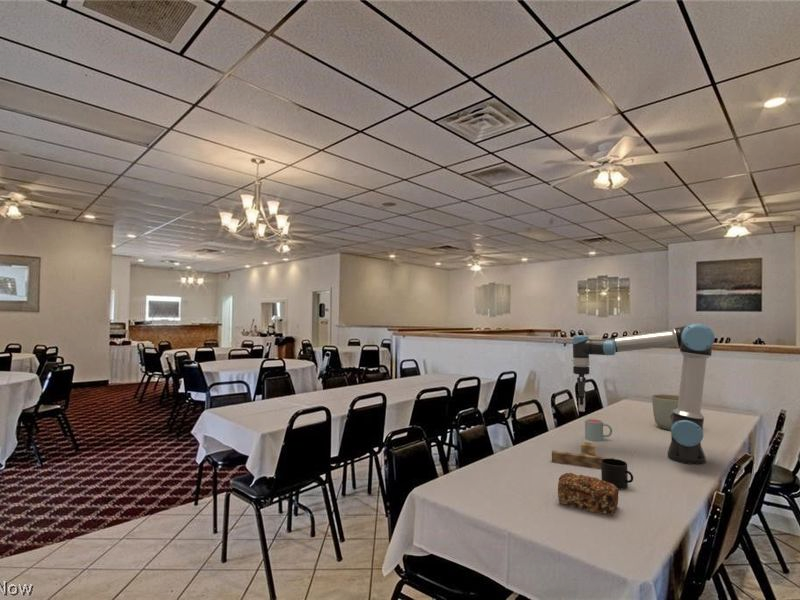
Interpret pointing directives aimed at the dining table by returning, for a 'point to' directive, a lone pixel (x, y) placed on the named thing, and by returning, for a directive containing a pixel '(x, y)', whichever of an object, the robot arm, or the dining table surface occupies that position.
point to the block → (588, 448)
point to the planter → (664, 409)
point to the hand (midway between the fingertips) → (582, 408)
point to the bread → (588, 493)
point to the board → (577, 459)
